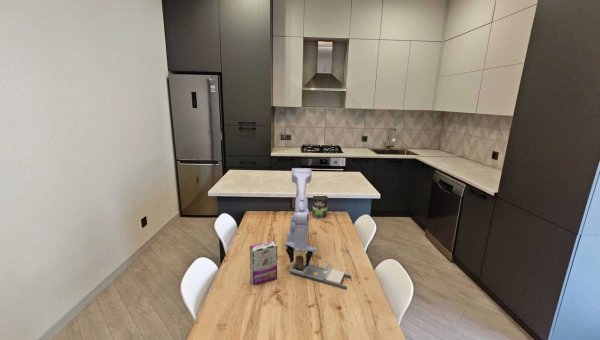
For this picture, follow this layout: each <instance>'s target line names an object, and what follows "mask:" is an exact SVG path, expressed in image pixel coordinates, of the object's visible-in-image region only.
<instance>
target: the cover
mask: <svg viewBox="0 0 600 340" xmlns="http://www.w3.org/2000/svg"><path fill="white" fill-rule="evenodd" d="M324 269H325V270H324V272H323V280H324V281H328V282H332V283H335V284H339V285H341V283H342V281H343V278H344V277H343V276H344V274H346V273H345V272H344V271H341V270H338V269H334V268H332V262H328V263H327V264H326V267H325V268H324Z"/></svg>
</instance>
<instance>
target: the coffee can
mask: <svg viewBox="0 0 600 340" xmlns="http://www.w3.org/2000/svg"><path fill="white" fill-rule="evenodd" d="M328 201H329V197H328V196H327V195H325V196H314V195H313V196H312V211H311V217H312V216H313V217H314V218H313V217H312V218H313V219H315V218H317V219H316V220H325V219H327V218H326V217H328V216H327V215H328ZM324 218H325V219H324Z"/></svg>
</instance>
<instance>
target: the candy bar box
mask: <svg viewBox="0 0 600 340" xmlns="http://www.w3.org/2000/svg"><path fill="white" fill-rule="evenodd" d="M249 276H250V277H249V278H250V282H251V283H252V285H253V286H256V285H260V284H264V283H267V282H270V281H274V280H277V279H278V244H277V243H276V242H275V241H274V240H271V241H266V242H261V243H257V244H251V245H249Z"/></svg>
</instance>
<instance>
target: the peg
mask: <svg viewBox="0 0 600 340" xmlns="http://www.w3.org/2000/svg"><path fill="white" fill-rule="evenodd" d="M304 261H305V259H304V256H303V255H296V256H295V262H296V270H298V271H303V265H304Z"/></svg>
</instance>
